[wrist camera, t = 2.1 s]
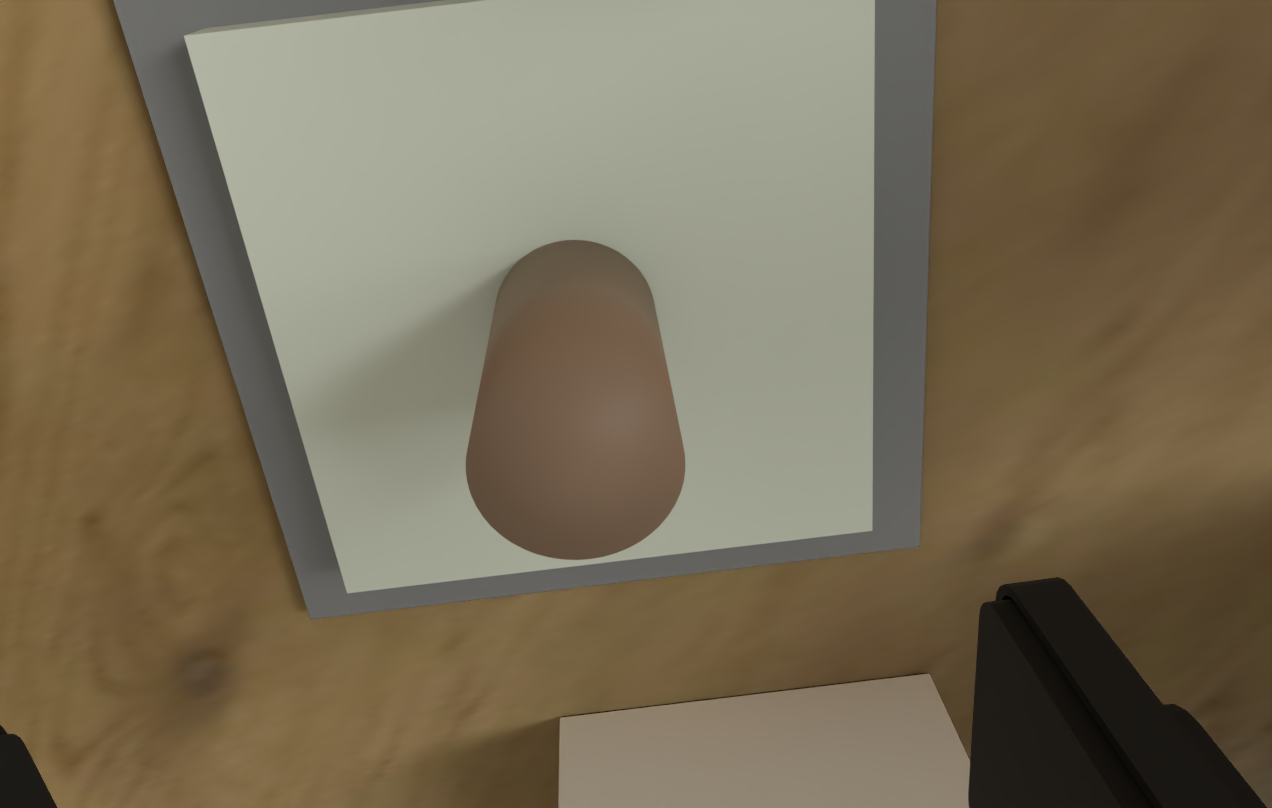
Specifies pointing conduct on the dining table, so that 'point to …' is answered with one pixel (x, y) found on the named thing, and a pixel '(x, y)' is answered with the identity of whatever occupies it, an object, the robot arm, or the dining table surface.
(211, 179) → the mat
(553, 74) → the lid
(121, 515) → the dining table surface
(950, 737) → the white open storage bin
